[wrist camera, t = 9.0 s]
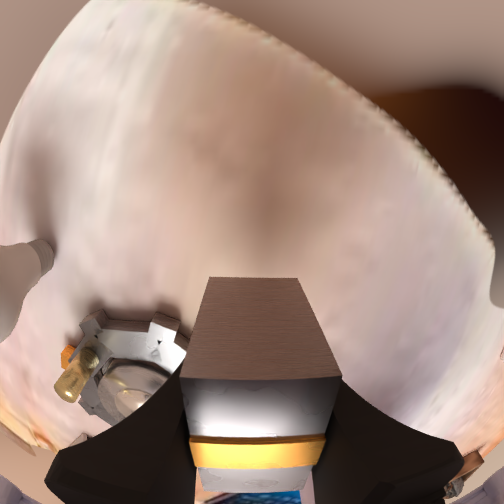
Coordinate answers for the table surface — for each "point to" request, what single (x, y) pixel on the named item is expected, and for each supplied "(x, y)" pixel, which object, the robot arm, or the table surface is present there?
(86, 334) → the sprocket
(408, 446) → the robot arm
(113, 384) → the hub
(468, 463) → the open wooden box
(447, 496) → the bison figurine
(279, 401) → the marked link
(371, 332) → the table surface
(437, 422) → the table surface
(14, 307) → the lightbulb
